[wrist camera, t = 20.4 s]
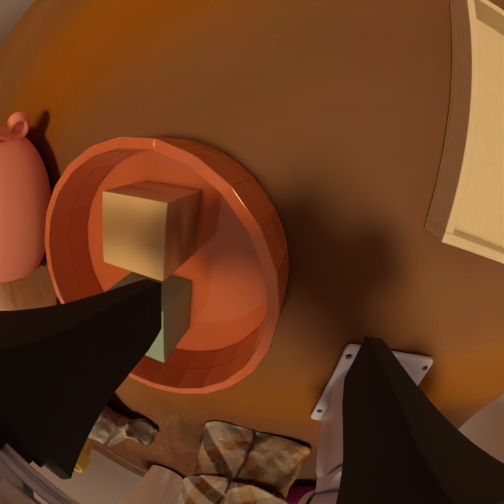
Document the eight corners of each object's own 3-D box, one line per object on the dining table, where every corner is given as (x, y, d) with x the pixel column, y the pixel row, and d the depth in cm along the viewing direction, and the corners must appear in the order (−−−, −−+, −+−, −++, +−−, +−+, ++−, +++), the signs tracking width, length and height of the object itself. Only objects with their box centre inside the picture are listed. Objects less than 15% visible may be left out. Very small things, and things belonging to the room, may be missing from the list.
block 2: (189, 328, 21) (164, 363, 17) (142, 311, 22) (112, 340, 18) (192, 280, 20) (163, 311, 16) (140, 264, 20) (105, 290, 16)
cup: (135, 459, 38) (105, 507, 26) (158, 455, 34) (125, 514, 22) (176, 484, 39) (152, 532, 27) (204, 483, 35) (180, 540, 23)
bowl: (262, 375, 22) (248, 420, 17) (95, 315, 24) (64, 341, 20) (315, 160, 16) (315, 162, 11) (89, 134, 18) (42, 136, 13)
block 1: (194, 254, 19) (163, 281, 15) (141, 240, 19) (103, 262, 15) (201, 190, 17) (167, 203, 13) (144, 180, 18) (102, 190, 14)
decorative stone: (166, 427, 28) (125, 486, 20) (154, 432, 33) (120, 479, 25) (67, 343, 28) (18, 393, 20) (72, 365, 33) (34, 406, 26)
